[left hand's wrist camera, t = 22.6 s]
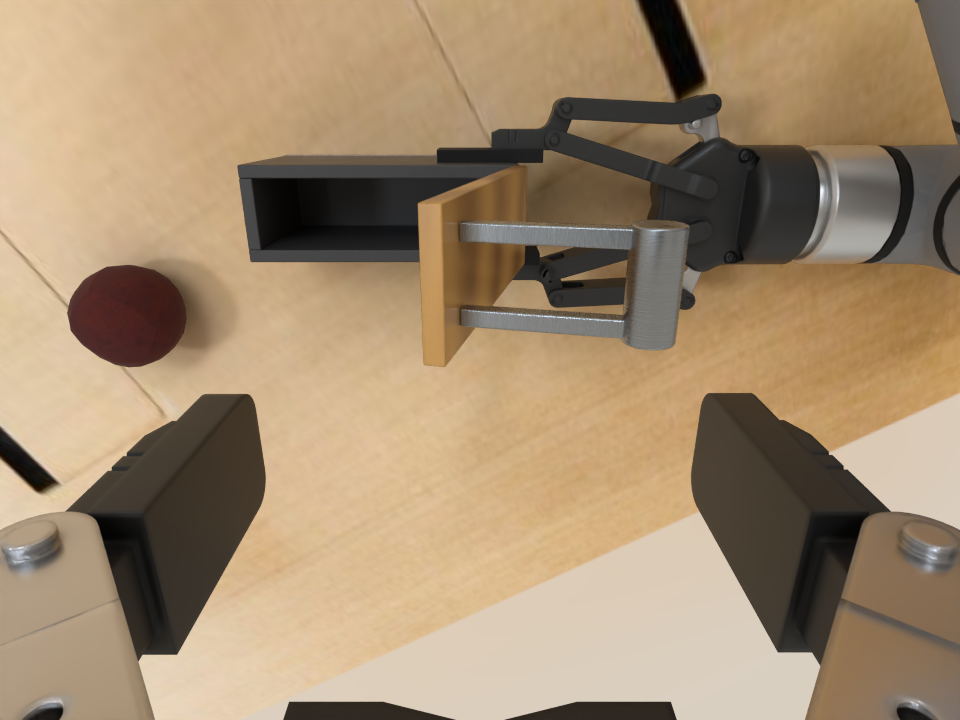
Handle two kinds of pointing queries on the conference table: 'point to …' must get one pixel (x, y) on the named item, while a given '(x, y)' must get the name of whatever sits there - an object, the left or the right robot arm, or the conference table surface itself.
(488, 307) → the lid
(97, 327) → the dark red ball
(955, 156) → the right robot arm
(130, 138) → the conference table surface
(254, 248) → the chest
